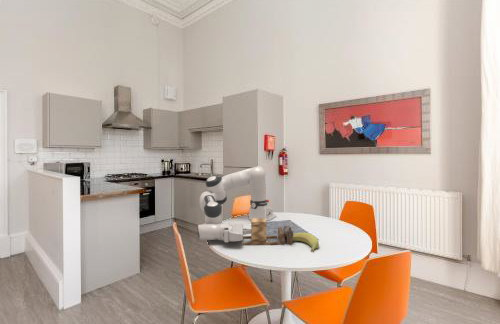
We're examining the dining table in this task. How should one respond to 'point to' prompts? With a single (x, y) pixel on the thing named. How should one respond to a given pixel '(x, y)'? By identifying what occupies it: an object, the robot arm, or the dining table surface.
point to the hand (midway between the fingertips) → (251, 231)
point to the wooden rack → (281, 236)
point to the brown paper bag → (258, 230)
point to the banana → (307, 239)
